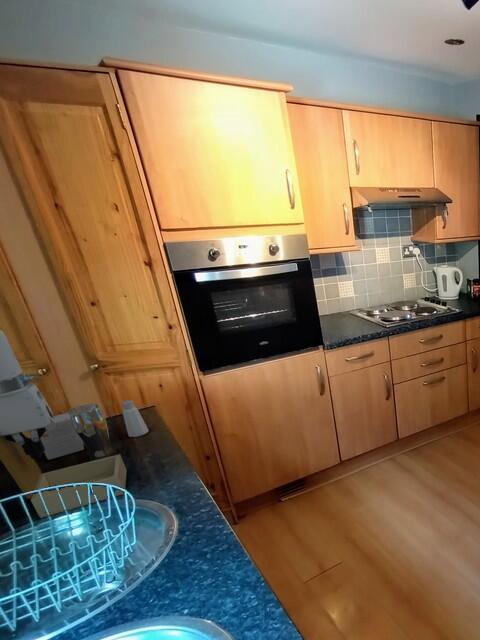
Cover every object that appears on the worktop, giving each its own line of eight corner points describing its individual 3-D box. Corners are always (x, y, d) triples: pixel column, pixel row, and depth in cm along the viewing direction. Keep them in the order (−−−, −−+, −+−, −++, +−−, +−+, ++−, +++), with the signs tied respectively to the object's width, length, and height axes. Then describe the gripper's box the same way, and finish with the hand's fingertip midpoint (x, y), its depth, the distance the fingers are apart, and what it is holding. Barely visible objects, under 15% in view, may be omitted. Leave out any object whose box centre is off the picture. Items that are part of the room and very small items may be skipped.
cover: (5, 415, 106) (-25, 422, 103) (-9, 437, 96) (-42, 446, 94) (41, 471, 113) (14, 480, 110) (32, 497, 103) (1, 507, 101)
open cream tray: (126, 470, 123) (120, 454, 121) (124, 493, 114) (117, 476, 112) (49, 491, 115) (40, 474, 113) (40, 518, 106) (30, 500, 103)
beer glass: (89, 464, 126) (68, 417, 120) (85, 455, 130) (64, 409, 124) (121, 454, 131) (102, 408, 124) (115, 446, 135) (97, 401, 129)
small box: (83, 442, 136) (69, 412, 132) (84, 450, 133) (70, 418, 129) (46, 452, 131) (31, 421, 127) (47, 460, 128) (31, 428, 123)
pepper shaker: (151, 427, 145) (140, 396, 141) (146, 435, 141) (134, 403, 136) (130, 430, 143) (118, 399, 139) (125, 438, 139) (112, 406, 134)
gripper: (51, 371, 106) (81, 439, 113) (-43, 387, 98) (-4, 458, 105) (46, 382, 100) (77, 452, 108) (-54, 399, 92) (-12, 473, 100)
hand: (37, 455), depth 106 cm, fingers closed
